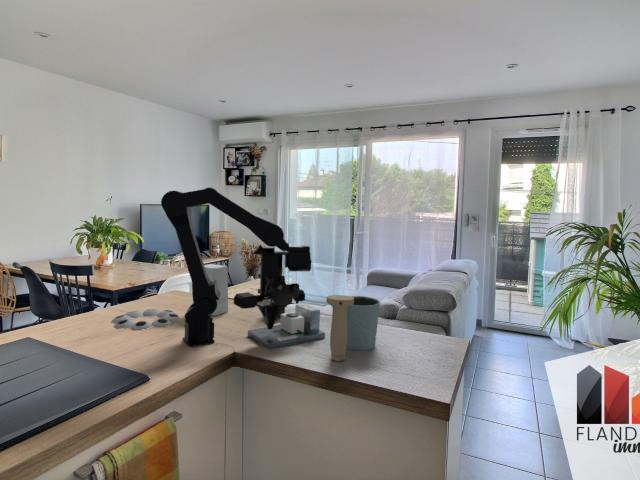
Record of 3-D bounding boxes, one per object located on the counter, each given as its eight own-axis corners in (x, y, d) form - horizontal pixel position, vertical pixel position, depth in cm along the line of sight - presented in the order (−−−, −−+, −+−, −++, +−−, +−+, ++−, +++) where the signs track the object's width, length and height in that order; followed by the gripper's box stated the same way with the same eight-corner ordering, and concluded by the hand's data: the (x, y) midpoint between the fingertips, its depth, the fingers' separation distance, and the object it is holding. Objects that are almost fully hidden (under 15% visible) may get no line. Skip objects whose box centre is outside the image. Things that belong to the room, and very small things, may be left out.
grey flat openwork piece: (194, 320, 122) (194, 314, 121) (134, 336, 105) (134, 329, 105) (156, 309, 132) (156, 303, 132) (97, 322, 116) (96, 315, 116)
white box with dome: (296, 336, 104) (296, 320, 103) (280, 327, 110) (280, 313, 110) (313, 333, 107) (313, 318, 106) (296, 325, 114) (297, 310, 113)
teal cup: (380, 341, 107) (382, 298, 106) (375, 354, 98) (377, 306, 97) (343, 336, 110) (345, 294, 109) (335, 348, 100) (337, 302, 99)
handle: (351, 364, 91) (354, 300, 90) (324, 362, 91) (326, 299, 90) (350, 356, 96) (353, 295, 94) (324, 355, 96) (326, 294, 95)
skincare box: (228, 312, 130) (229, 266, 129) (213, 316, 125) (214, 268, 123) (211, 308, 135) (211, 263, 133) (195, 312, 129) (196, 265, 128)
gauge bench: (268, 349, 98) (269, 320, 98) (247, 335, 108) (248, 308, 107) (324, 337, 108) (325, 311, 108) (301, 326, 118) (301, 301, 117)
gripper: (252, 279, 92) (251, 344, 93) (317, 273, 102) (315, 331, 104) (233, 271, 101) (232, 331, 102) (295, 267, 111) (293, 321, 113)
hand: (269, 328), depth 105 cm, fingers closed
